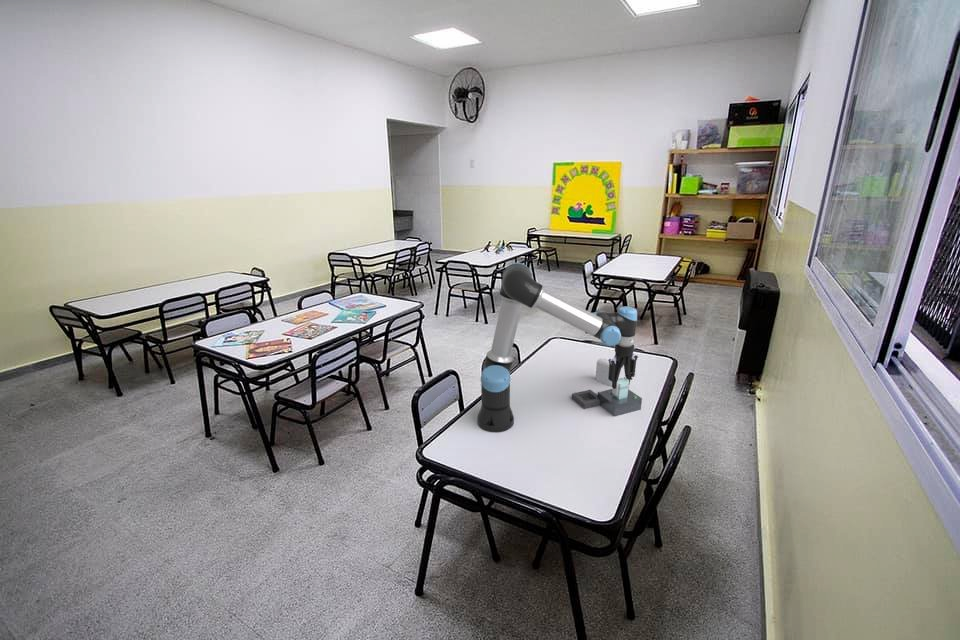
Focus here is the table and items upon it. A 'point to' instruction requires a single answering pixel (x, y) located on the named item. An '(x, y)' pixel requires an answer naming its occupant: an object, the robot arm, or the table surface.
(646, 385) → the table surface
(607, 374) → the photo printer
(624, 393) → the plug
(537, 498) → the table surface
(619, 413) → the port block
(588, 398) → the dark grey square tray
